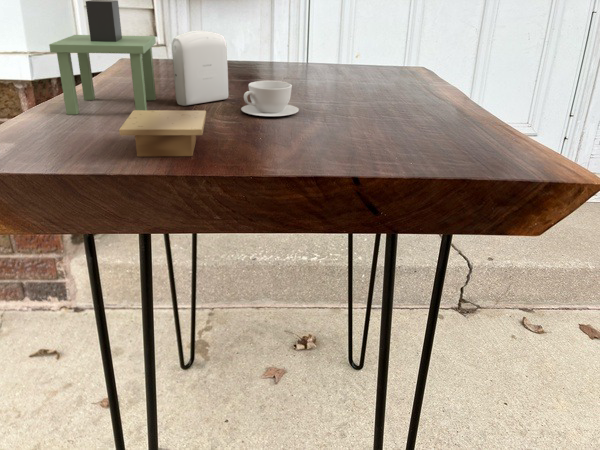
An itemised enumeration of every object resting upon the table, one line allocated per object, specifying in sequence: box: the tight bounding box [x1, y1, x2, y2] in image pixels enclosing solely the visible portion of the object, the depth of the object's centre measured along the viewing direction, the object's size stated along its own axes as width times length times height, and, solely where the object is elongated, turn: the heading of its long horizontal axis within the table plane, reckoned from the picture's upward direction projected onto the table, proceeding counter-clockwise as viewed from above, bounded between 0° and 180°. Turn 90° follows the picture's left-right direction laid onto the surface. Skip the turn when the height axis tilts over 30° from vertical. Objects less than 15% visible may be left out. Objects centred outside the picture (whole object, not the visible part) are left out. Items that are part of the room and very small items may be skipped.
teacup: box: [240, 80, 300, 117], centre depth 91 cm, size 10×10×5 cm
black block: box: [85, 0, 123, 42], centre depth 86 cm, size 4×5×6 cm
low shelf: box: [118, 109, 207, 158], centre depth 70 cm, size 10×10×4 cm
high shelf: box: [48, 34, 157, 116], centre depth 90 cm, size 14×14×11 cm
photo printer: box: [171, 29, 229, 107], centre depth 95 cm, size 10×4×12 cm, turn 133°
